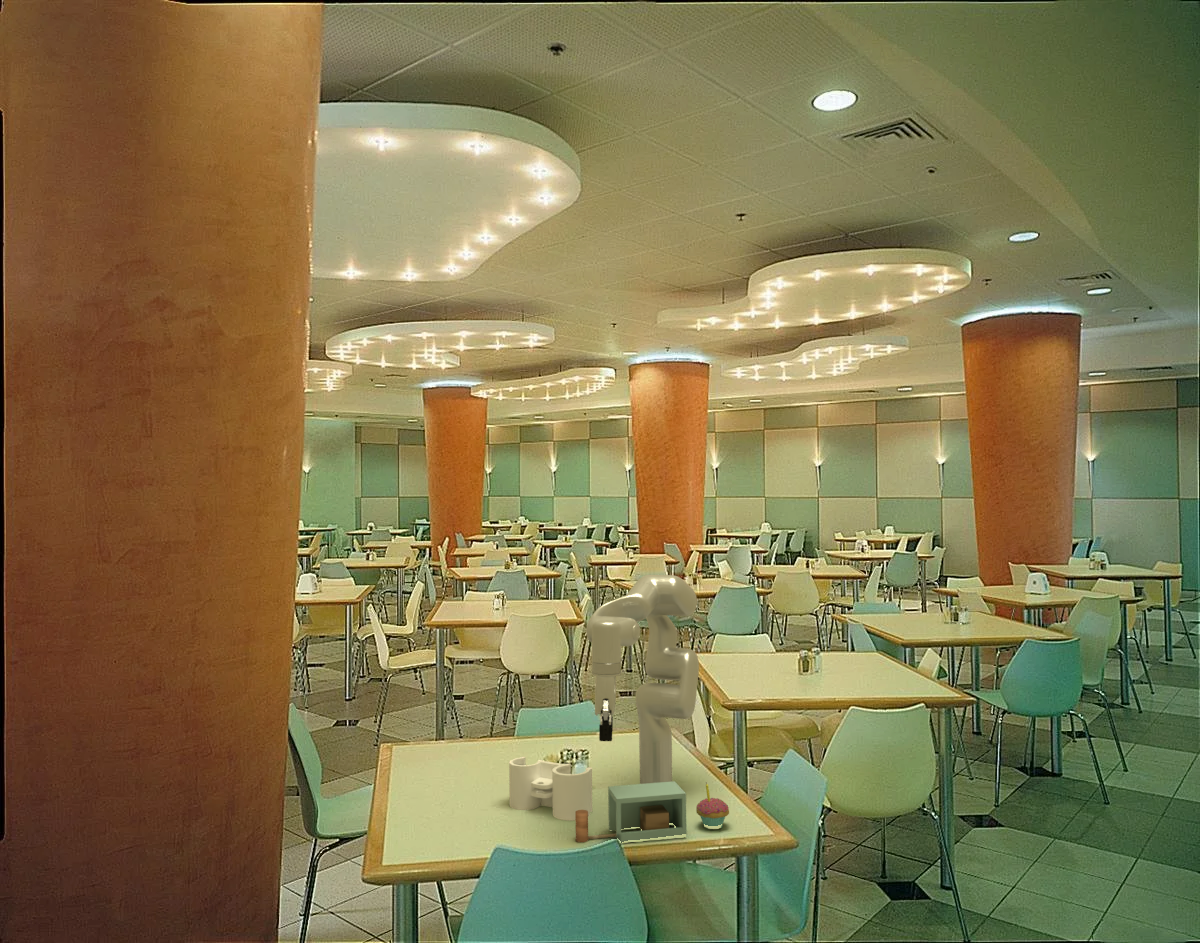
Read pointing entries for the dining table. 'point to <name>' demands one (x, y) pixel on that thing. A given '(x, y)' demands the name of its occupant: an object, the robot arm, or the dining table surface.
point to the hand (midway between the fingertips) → (606, 736)
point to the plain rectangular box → (632, 797)
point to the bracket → (549, 787)
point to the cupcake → (712, 810)
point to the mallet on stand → (648, 821)
